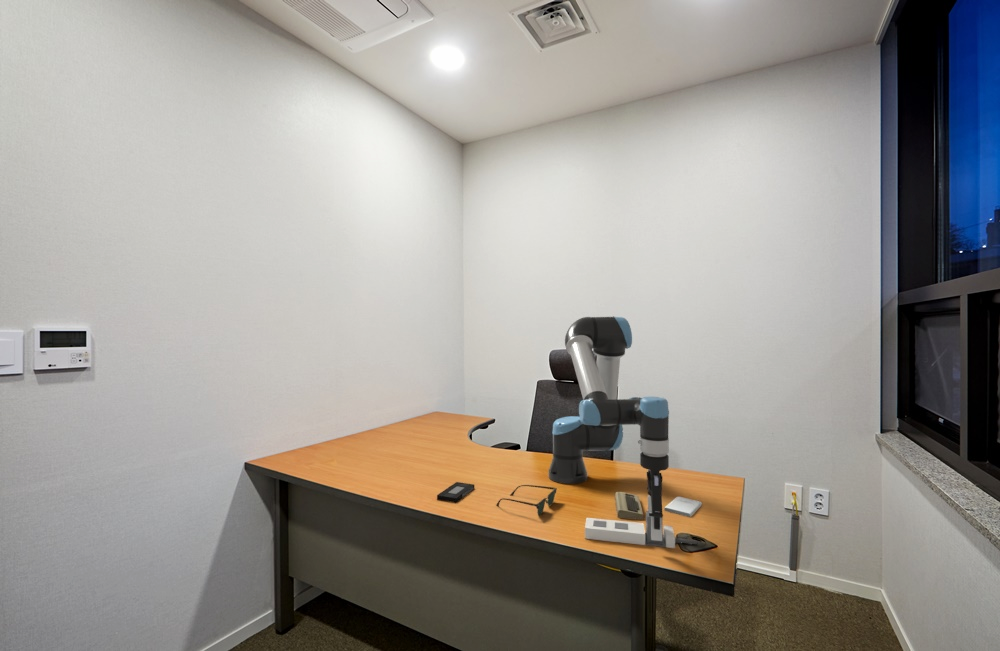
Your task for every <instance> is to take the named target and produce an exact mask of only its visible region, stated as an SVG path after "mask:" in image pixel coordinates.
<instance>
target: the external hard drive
mask: <svg viewBox="0 0 1000 651" xmlns="http://www.w3.org/2000/svg"><path fill="white" fill-rule="evenodd" d="M702 504H703V502H701V501H700V500H699V501H698V500H696V499H695V500H694V499H691V498H687V497H682V496H676V497H675V498H674V499H673V500H672V501H671V502H669V503H668V504H667V505H666V506H665V507H664V508H663V509H664V510H663V511H664V512H668V513H672V514H676V515H681V516H684V517H688V518H691V517H692V516H693V515H694V514H695V513H696V511H698V510H699V509H700V508H701V507H702Z"/></svg>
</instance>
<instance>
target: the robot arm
mask: <svg viewBox="0 0 1000 651" xmlns="http://www.w3.org/2000/svg"><path fill="white" fill-rule="evenodd" d="M564 338H565V339H564V345H565V349H566V351H567V353H568V354H569V355H570V356H571V360H572V365H573V367H574V371H575V372H574V373H575V375H576V379H577V382H578V385H579V389H580V392H581V396H582V400H581V401H580V402H579V404H578V414H579V416H578V415H577V416H572V415H571V416H562V417H560V418H557V419H555V421H554V422H553V423H552V459H551V463H550V466H549V469H548V479H550V481H553V482H556V483H559V484H566V485H567V484H568V485H571V484H572V485H573V484H574V485H576V484H582V483H583V482H586V481H587V480H588V471H587V468H586V464H585V461H584V457H583V454H584V453H583V452H588V451H589V452H591V451H592V452H593V451H594V452H595V451H598V452H599V451H600V452H601V451H605V452H608V451H616V450H617V449H619V448H620V447H621V445H622V444H623V443H622V442H623V438H624V432H623V431H624V428H623V426H628V425H629V426H630V425H631V426H632V425H633V426H634V425H638V426H639V427H640V428H639V429H640V430H639V431H640V432H639V434H640V440H637V443H638V445H640V452H641V453H639V454H640V456H639V457H640V458H639V460H640V462H639V464H640V467H642V468H643V469H646V470H647V471H646V482H647V488H646V490H647V511H652V513H649V516H651V540H656V541H662V518H664V514H663V498H662V497H663V496H662V495H663V493H662V491H663V475H662V472H661V471H667V470H668V469H669V466H670V465H669V464H670V463H669V462H670V460H669V458H670V457H669V455H668V454H669V452H670V439H669V418H670V416H669V415H670V410H669V402H668V400H667V399H666V398H664V397H659V396H643V397H640V396H639V397H638V396H633V397H630V398H627V399H626V398H625V399H623V398H622V399H621V398H619V399H618V388H619V387H618V386H619V374H620V365H621V364H620V363H621V358H622V357H624V356H625V355H626V349H630V348H631V347H632V344H633V334H632V328H631V326H630V323H629V321H628V320H627V319H626V318H625V317H622V316H585V317H584V316H583V317H581V318H578V319H577V320H575V321H574V322H573V323H572V324H571V325H570V326H569V327H568V329H567V331H566V334H565V336H564ZM595 356H596V357H595Z"/></svg>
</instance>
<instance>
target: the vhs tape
mask: <svg viewBox="0 0 1000 651" xmlns="http://www.w3.org/2000/svg"><path fill="white" fill-rule="evenodd" d="M473 490H475V484H472V483H466V482H460V481H455V482H454V483H452V484H451V485H450V486H448V487H447V488H445V489H444V490H442V491H441V492H440V493H438V494H436V500H438V501H442V502H443V501H444V502H450V503H458V502H460V500H462V499H463V498H464V497H465V496H467V495H468V494H469V493H470V492H472V491H473Z"/></svg>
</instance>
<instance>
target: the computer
mask: <svg viewBox="0 0 1000 651" xmlns="http://www.w3.org/2000/svg"><path fill="white" fill-rule="evenodd" d="M614 495H615V496H614V500H615V508H616V515H617V516H616V517H617V519H627V520H628V519H629V520H644V518H645V516H644V512H643V508H642V504H641V501H640V496H639V495H638V494H632V493H628V492H623V491H616V492H615V494H614Z"/></svg>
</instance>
